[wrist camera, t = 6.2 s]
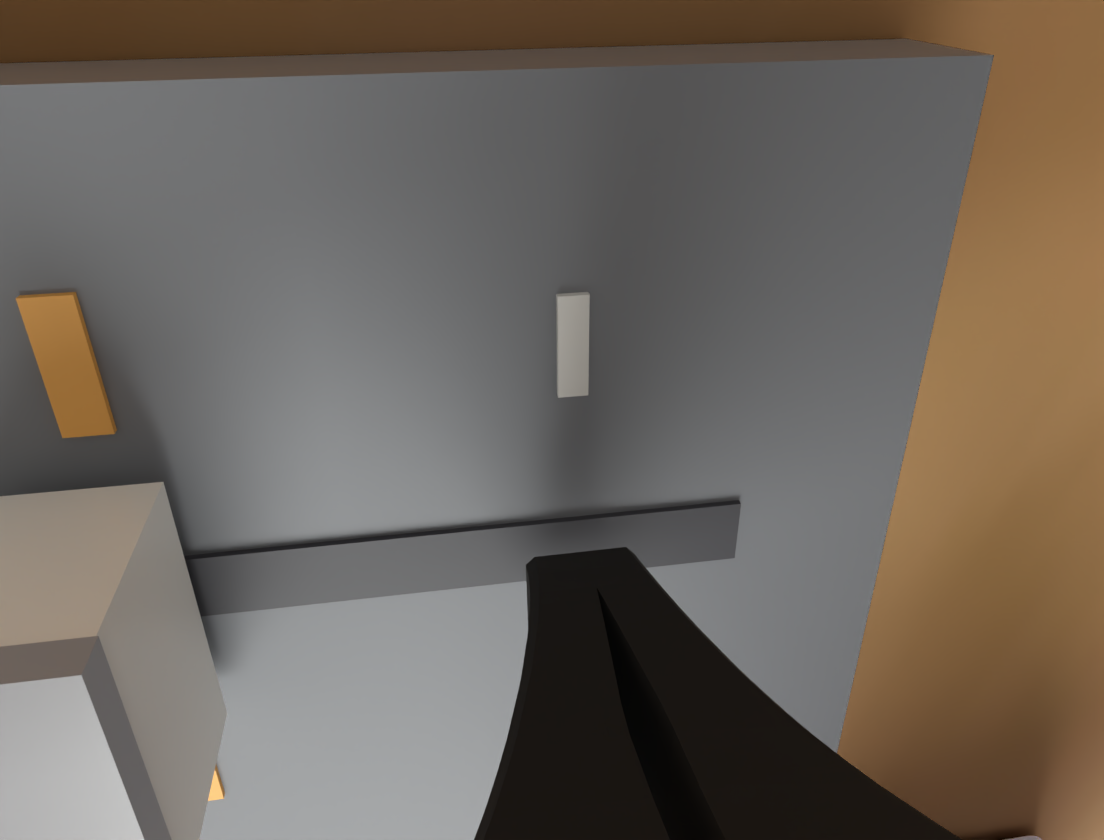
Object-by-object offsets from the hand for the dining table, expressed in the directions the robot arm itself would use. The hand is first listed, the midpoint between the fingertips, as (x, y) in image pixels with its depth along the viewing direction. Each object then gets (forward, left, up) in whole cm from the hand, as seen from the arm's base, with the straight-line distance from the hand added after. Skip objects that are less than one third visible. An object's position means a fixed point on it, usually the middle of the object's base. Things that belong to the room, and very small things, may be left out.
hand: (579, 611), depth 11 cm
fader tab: (+6, 0, -1) cm, 6 cm away
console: (+4, 0, -3) cm, 5 cm away
